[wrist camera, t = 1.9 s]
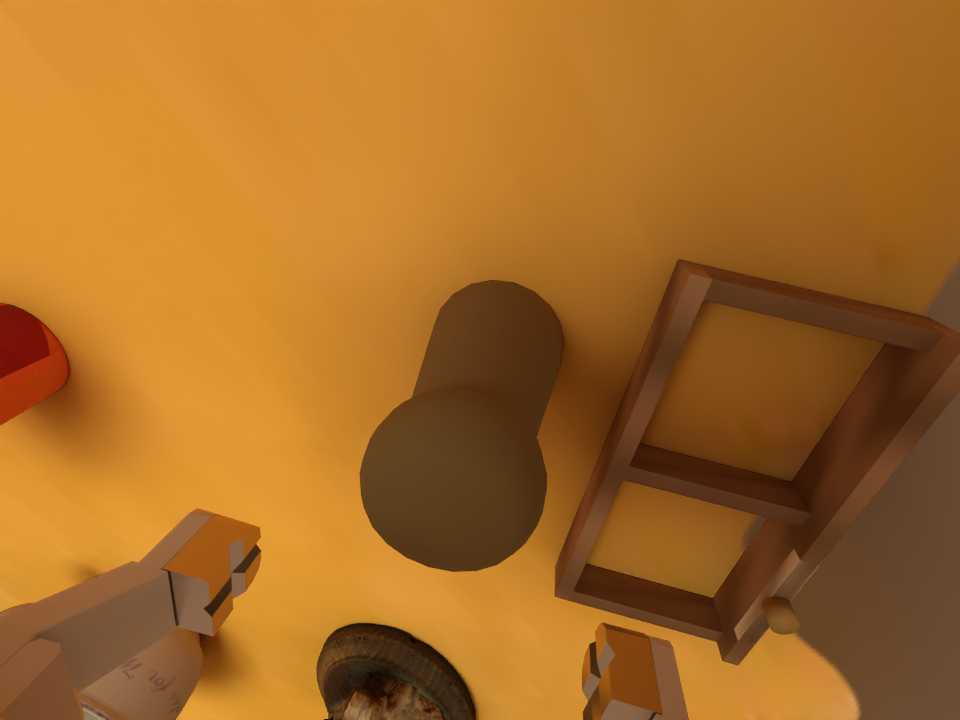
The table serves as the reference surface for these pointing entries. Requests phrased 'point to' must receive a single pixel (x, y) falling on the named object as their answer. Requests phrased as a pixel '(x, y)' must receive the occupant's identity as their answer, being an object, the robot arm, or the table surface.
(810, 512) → the wooden divided frame
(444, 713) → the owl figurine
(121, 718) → the teacup
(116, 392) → the table surface
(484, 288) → the cork
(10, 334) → the paper cup
